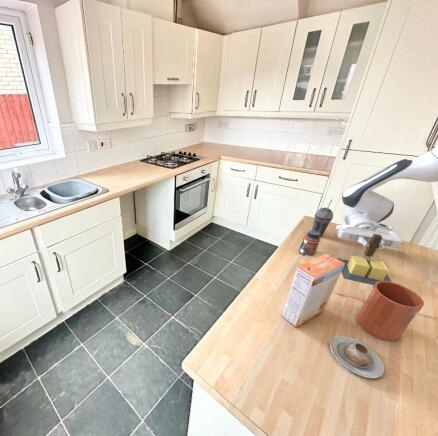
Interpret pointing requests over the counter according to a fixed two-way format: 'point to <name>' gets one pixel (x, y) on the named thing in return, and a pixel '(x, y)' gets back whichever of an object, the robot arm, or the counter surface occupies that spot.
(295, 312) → the cracker box
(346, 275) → the butter dish
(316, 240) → the supplement bottle
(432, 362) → the counter surface
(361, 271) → the butter
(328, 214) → the beverage cup
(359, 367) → the grey lid
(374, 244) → the knife
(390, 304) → the crock
